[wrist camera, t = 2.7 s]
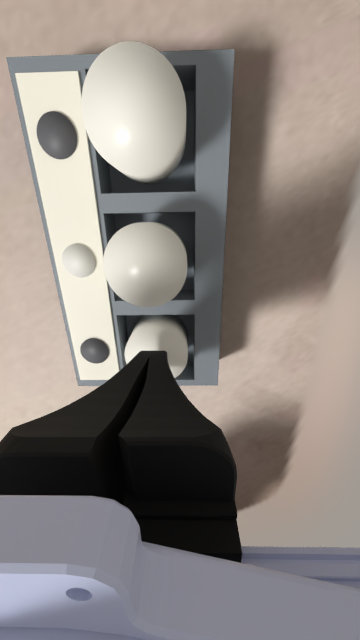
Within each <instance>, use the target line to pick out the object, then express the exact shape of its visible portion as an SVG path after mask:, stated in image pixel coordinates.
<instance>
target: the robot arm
mask: <svg viewBox="0 0 360 640" xmlns="http://www.w3.org/2000/svg"><path fill="white" fill-rule="evenodd" d="M236 480H237V471H236V465H235V461H234V458H233V456H232V453H231V450H230V448H229V445H228V443H227V441H226V439H225V437H224V435H223V433H222V431H221V429H220V428H219V427H218V426H216V425H215V424H214V423H212V422H211V421H210V420H208V419H207V418H206V417H204V416H203V415H202V414H201V413H200V412H199V411H198V410H197V409H196V408H195V406H194V405H193V404H192V403H191V402H190V401H189V400H188V399H187V397H186V396H185V395H184V393H183V392H182V390H181V389H180V387H179V386H178V384H177V382H176V380H175V378H174V376H173V374H172V372H171V369H170V367H169V364H168V357H167V352H166V351H140V352H139V353H138V354H137V355H136V356H135V357H134V358H133V359H132V360H131V361H130V362H129V363H128V364H126V365H125V366H124V367H123V368H122V369H121V370H120V371H119V372H118V373H116V374H115V375H114V376H113V377H112V378H110V379H109V380H108V381H107V382H105V383H104V384H103V385H101V386H100V387H98V388H97V389H95V390H94V391H92V392H91V393H89V394H87V395H86V396H84V397H82V398H80V399H78V400H77V401H75V402H73V403H71V404H69V405H67V406H65V407H63V408H61V409H59V410H57V411H55V412H52V413H50V414H48V415H45V416H43V417H41V418H38V419H35V420H32V421H30V422H27V423H24V424H22V425H19V426H16V427H13V428H12V429H11V430H10V431H9V432H8V433H7V435H6V436H5V437H4V438H3V439H2V440H1V442H0V640H360V548H340V547H339V548H338V547H254V546H252V547H251V546H250V547H249V546H241V543H240V538H239V532H238V526H237V521H236V518H237V510H236V505H235V490H236Z"/></svg>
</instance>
